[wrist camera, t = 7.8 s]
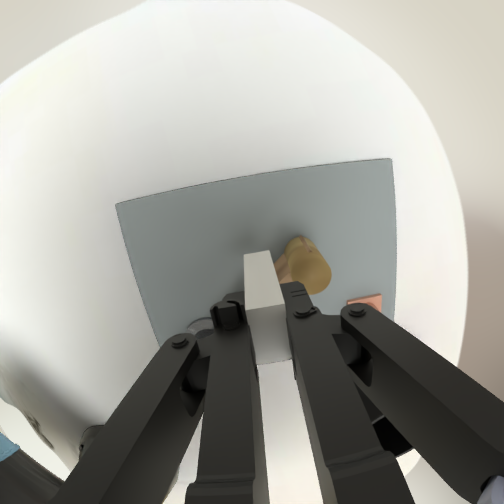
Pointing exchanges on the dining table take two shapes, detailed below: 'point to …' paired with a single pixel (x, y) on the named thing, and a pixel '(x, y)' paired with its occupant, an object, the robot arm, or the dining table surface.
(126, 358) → the dining table surface
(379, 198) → the mat
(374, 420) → the mug
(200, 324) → the pivot post
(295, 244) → the gate
